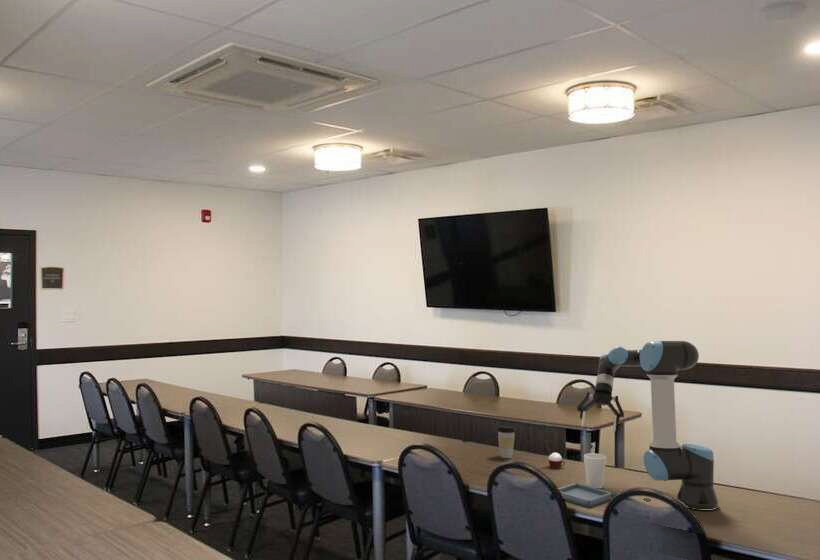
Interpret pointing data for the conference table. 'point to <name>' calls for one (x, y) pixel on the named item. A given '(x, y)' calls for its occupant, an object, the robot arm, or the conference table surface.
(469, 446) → the conference table surface
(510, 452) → the coffee cup
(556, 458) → the cocoa
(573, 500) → the tray
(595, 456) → the foam cup
